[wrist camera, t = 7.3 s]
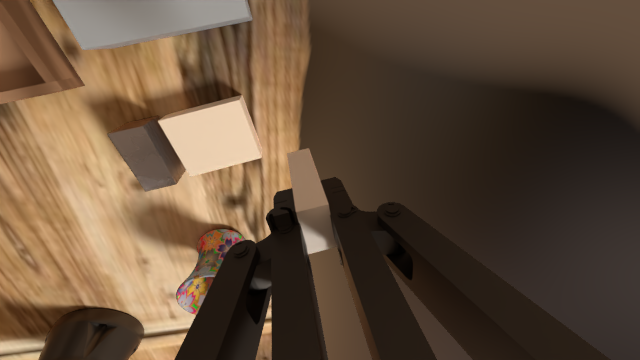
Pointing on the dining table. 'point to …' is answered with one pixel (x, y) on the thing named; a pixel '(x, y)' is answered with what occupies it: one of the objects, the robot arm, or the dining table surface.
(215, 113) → the cream rectangular block
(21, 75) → the tray
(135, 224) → the dining table surface
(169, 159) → the block
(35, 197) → the dining table surface
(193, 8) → the dowel block
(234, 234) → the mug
